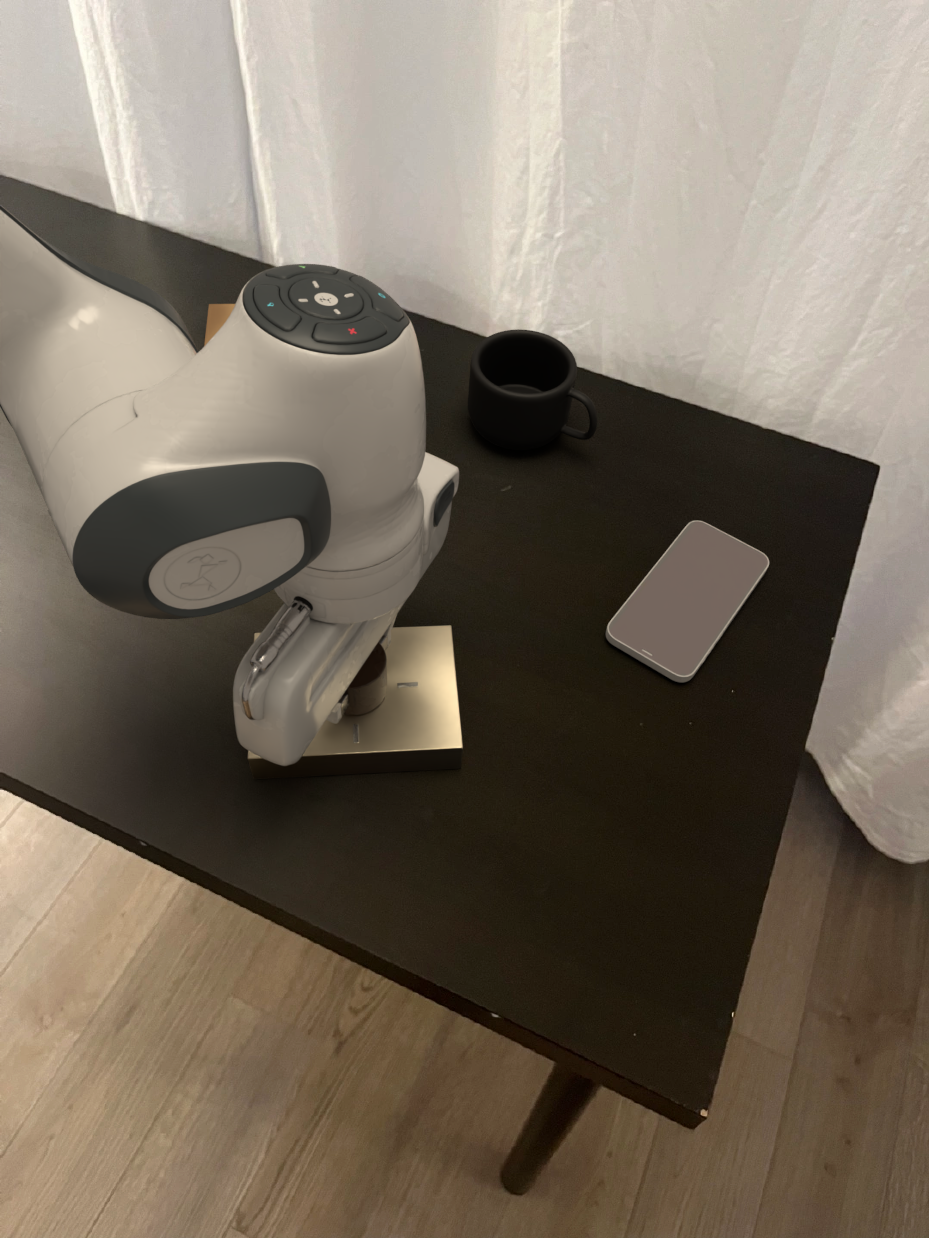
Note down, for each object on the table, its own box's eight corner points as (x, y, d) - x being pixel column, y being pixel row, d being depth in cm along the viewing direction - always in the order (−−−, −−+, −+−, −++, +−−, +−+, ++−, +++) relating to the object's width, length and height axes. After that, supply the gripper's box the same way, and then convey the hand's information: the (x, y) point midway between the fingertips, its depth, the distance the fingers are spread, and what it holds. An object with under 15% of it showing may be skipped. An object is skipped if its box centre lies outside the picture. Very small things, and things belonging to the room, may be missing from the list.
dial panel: (253, 779, 64) (247, 757, 62) (259, 656, 70) (253, 631, 67) (460, 768, 65) (463, 746, 63) (449, 648, 71) (451, 623, 69)
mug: (446, 432, 85) (450, 368, 79) (500, 378, 90) (506, 314, 84) (563, 490, 81) (576, 428, 76) (612, 431, 86) (628, 368, 80)
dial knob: (367, 725, 64) (365, 695, 60) (310, 699, 64) (305, 668, 61) (398, 676, 66) (398, 645, 63) (343, 651, 67) (340, 619, 64)
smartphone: (774, 558, 77) (688, 682, 69) (771, 566, 78) (685, 689, 70) (693, 515, 79) (601, 631, 71) (690, 523, 80) (599, 638, 72)
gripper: (293, 708, 47) (314, 826, 58) (472, 452, 58) (461, 592, 69) (185, 658, 48) (226, 783, 59) (381, 417, 59) (385, 560, 71)
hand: (354, 678), depth 64 cm, fingers closed on dial knob, 4 cm apart
